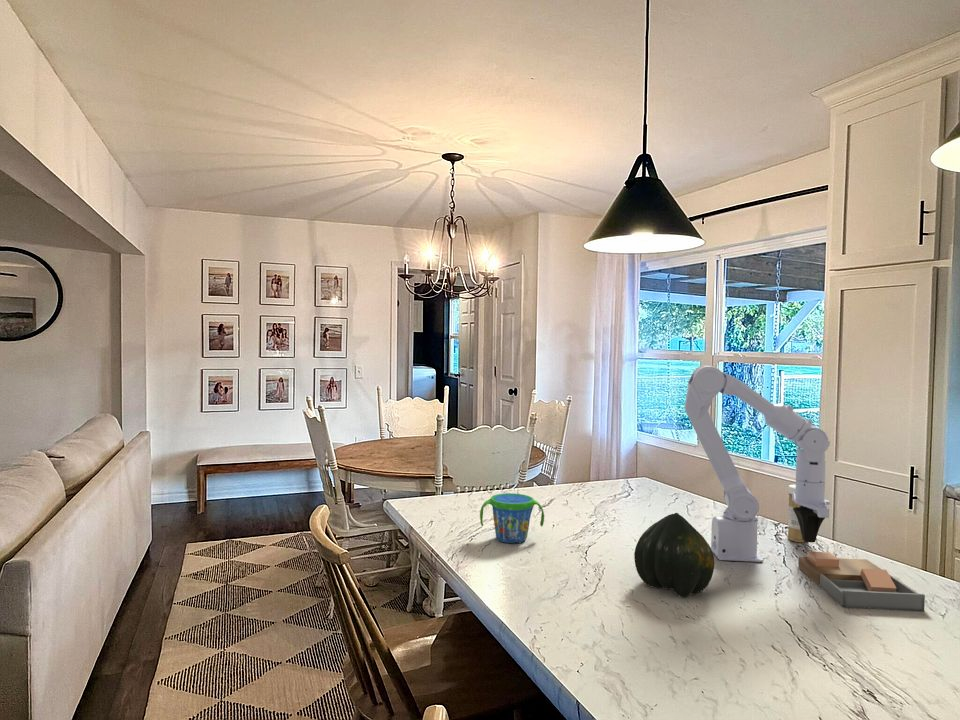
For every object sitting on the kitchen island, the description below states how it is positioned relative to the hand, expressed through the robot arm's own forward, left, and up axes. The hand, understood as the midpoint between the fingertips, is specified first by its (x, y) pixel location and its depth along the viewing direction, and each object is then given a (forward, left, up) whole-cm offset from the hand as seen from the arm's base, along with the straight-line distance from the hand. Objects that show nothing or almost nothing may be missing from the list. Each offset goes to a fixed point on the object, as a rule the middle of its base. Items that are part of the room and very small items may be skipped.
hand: (808, 541), depth 140 cm
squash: (-33, -19, -5) cm, 38 cm away
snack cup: (-66, +7, -5) cm, 67 cm away
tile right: (+7, -16, -3) cm, 17 cm away
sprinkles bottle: (+4, +16, -5) cm, 17 cm away
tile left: (0, -7, -2) cm, 8 cm away
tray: (+3, -19, -5) cm, 20 cm away
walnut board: (+3, -9, -5) cm, 11 cm away
